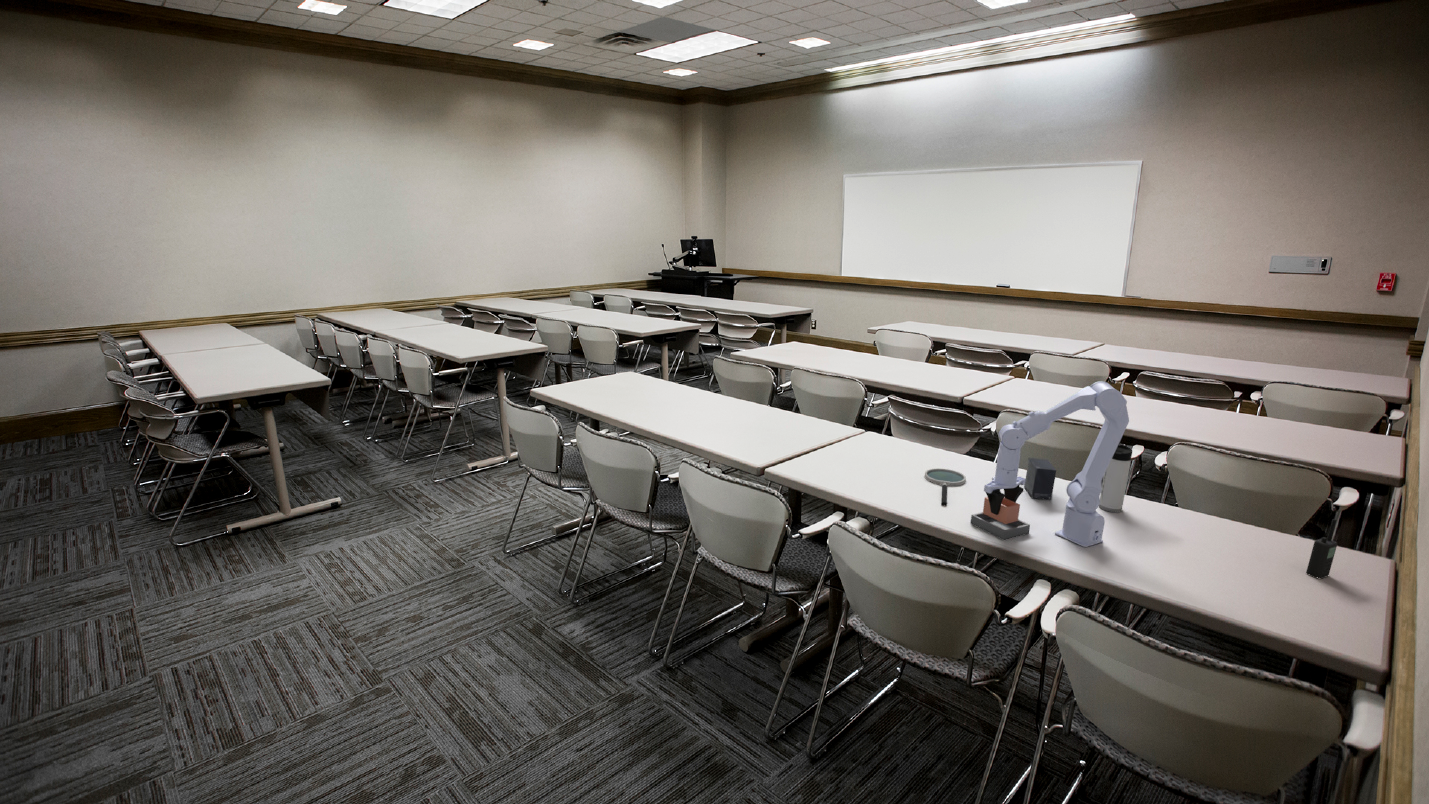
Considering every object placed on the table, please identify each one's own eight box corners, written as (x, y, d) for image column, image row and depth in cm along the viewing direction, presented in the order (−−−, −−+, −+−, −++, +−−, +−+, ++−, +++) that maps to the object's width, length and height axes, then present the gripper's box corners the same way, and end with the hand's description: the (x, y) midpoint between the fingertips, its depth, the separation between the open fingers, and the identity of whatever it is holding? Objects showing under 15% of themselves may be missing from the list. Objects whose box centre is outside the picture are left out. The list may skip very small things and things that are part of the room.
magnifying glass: (921, 504, 211) (922, 498, 210) (925, 471, 239) (925, 465, 239) (966, 510, 207) (967, 504, 206) (964, 476, 235) (965, 470, 234)
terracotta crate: (1017, 520, 190) (1020, 504, 189) (1005, 524, 188) (1007, 507, 187) (994, 510, 197) (996, 494, 196) (982, 513, 195) (984, 497, 194)
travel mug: (1124, 508, 208) (1135, 447, 203) (1118, 514, 204) (1130, 452, 198) (1101, 502, 212) (1112, 442, 207) (1096, 508, 208) (1106, 447, 202)
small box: (1053, 500, 213) (1057, 469, 211) (1031, 498, 214) (1035, 468, 212) (1044, 488, 223) (1048, 458, 221) (1023, 486, 224) (1027, 457, 222)
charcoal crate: (1028, 534, 190) (1030, 524, 190) (1003, 541, 186) (1005, 531, 185) (994, 518, 201) (996, 508, 200) (970, 524, 196) (971, 514, 196)
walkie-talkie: (1319, 579, 167) (1334, 524, 163) (1303, 573, 170) (1318, 518, 166) (1330, 575, 169) (1345, 521, 165) (1314, 569, 172) (1329, 515, 168)
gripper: (1013, 458, 195) (1007, 502, 199) (977, 466, 189) (972, 510, 192) (1034, 466, 189) (1027, 510, 193) (998, 474, 183) (992, 520, 186)
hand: (1001, 511), depth 192 cm, fingers closed on terracotta crate, 5 cm apart
